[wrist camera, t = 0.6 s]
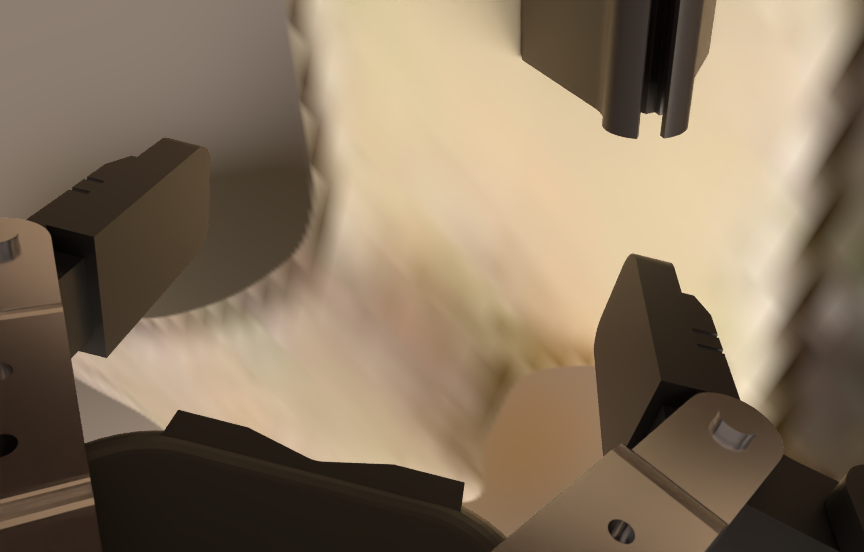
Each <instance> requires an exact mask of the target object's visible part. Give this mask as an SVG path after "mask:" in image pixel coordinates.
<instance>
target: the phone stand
mask: <svg viewBox="0 0 864 552" xmlns="http://www.w3.org/2000/svg"><path fill="white" fill-rule="evenodd" d="M715 6H716V0H522V60H523V61H525V62H526V63H528V64H529V65H531V66H532V67H534V68H535V69H537V70H538V71H540V72H541V73H543V74H544V75H546V76H547V77H549V78H550V79H552V80H553V81H555V82H556V83H558V84H559V85H561V86H562V87H564V88H565V89H567V90H568V91H570V92H571V93H573V94H574V95H576V96H577V97H579V98H580V99H582V100H583V101H585V102H586V103H588V104H589V105H591V106H592V107H594V108H595V109H597V110H598V111H599V112H600V113H601V114H602V116H603V121H602V126H603V128H604V129H605V130H606V131H608V132H610V133H612V134H615V135H618V136H621V137H626V138H633V139H637V138H638V134H639V124H640V113H641V112H642V113H645V114H648V113H653V112H655V113H657V114H658V115H663V116H662V125H661V134H660V136H662V137H663V138H669V137H673V136H677V135H679V134H681V133H683V132H685V131H686V130H687V128H688V121H689V113H690V106H691V99H692V91H693V84H694V78H695V76H696V74H697V73H698V71H699V69H700V67H701V66H702V64H703V62H704V60H705V59H706V57H707V55H708V53H709V48H710V41H711V34H712V27H713V20H714V13H715Z"/></svg>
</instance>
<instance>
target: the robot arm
mask: <svg viewBox="0 0 864 552" xmlns="http://www.w3.org/2000/svg"><path fill="white" fill-rule="evenodd" d="M209 216H210V156H209V152H208V150H207V149H206V148H205V147H202V146H198V145H194V144H190V143H186V142H182V141H178V140H174V139H169V138H163V139H161V140H160V141H158V142H157V143H156V144H155V145H153V146H152V147H150V148H149V149H148V150H146V151H145V152H144V153H142V154H141V155H140V156H138V157H135V156H130V157H126V158H123V159H120V160H117V161H114V162H111V163H107V164H105V165H103V166H102V167H100V168H99V169H98V170H96V171H95V172H93V173H92V174H90V175H89V176H88V177H87V180H85V179H83V180H82V181H81V182H79V183H78V184H76V185H75V186H73V189H72V190H68V191H66V192H65V193H63V194H62V195H61V196H59V197H58V198H57V199H55V200H54V201H52V202H51V203H49V204H48V205H47V206H45V207H44V208H42V209H41V210H39V211H38V212H36V213H35V214H34V215H32V216H31V217H29V218H28V219H27V220H23V219H16V218H0V552H864V465H858V466H855V467H853V468H851V469H850V470H849V471H848V472H847V474H846V475H845V476H844V477H843V478H842V480H841V481H840V482H838V481H836V480H834V479H832V478H829V477H827V476H825V475H823V474H821V473H819V472H817V471H815V470H813V469H811V468H809V467H807V466H804V465H802V464H800V463H798V462H796V461H794V460H793V459H791V458H789V457H787V456H786V455H784V444H783V441H782V438H781V436H780V434H779V432H778V431H777V429H776V428H775V427H774V425H773V424H772V423H771V422H770V421H769V420H768V419H767V418H766V417H765V416H764V415H762V414H761V413H760V412H759V411H757V410H756V409H755V408H753V407H752V406H750V405H748V404H747V403H745V402H743V401H741V400H740V398H739V395H738V392H737V389H736V386H735V383H734V380H733V377H732V375H731V372H730V369H729V366H728V363H727V360H726V357H725V354H722V351H723V349H722V346H721V343H720V340H719V338H717V331H716V328H715V325H714V323H713V320H712V317H711V315H710V314H709V312H708V311H707V310H706V309H705V308H704V307H703V306H702V304H701V303H700V302H699V301H698V300H697V299H696V298H695V296H693V295H689V294H685V293H682V292H681V289H680V285H679V282H678V279H677V275H676V272H675V269H674V266H673V264H672V263H669V262H665V261H661V260H657V259H653V258H649V257H645V256H641V255H637V254H630V255H629V256H628V258H627V259H626V261H625V263H624V265H623V267H622V269H621V272H620V274H619V277H618V279H617V281H616V284H615V286H614V288H613V291H612V293H611V295H610V298H609V300H608V302H607V305H606V307H605V309H604V312H603V314H602V317H601V319H600V322H599V325H598V328H597V332H596V337H595V343H594V357H595V369H596V379H597V392H598V403H599V415H600V426H601V438H602V449H603V458H601V459H600V460H599V461H598V462H597V463H595V464H594V465H593V466H592V467H591V468H589V469H588V470H587V471H586V472H585V473H583V474H582V475H581V476H580V477H579V478H577V479H576V480H575V481H574V482H573V483H572V484H570V485H569V486H568V487H567V488H566V489H564V490H563V491H562V492H561V493H560V494H558V495H557V496H556V497H555V498H554V499H552V500H551V502H549V503H548V504H547V505H545V506H544V507H543V508H542V509H541V510H539V511H538V512H537V513H536V514H535V515H534V516H532V517H531V518H530V519H529V520H528V521H526V522H525V523H524V524H523V525H522V526H521V527H519V528H518V529H517V530H516V531H515V532H513V533H512V534H511V535H510V536H509V537H506V536H505V535H504V534H503V533H502V532H501V531H499V530H498V529H497V528H496V527H494V526H493V525H492V524H491V523H489V522H488V521H487V520H485V519H483V518H482V517H480V516H479V515H477V514H476V513H474V512H473V511H471V510H469V509H467V508H465V507H463V506H462V498H463V491H464V484H465V483H464V482H460V481H456V480H452V479H449V478H445V477H441V476H437V475H433V474H429V473H425V472H421V471H417V470H413V469H409V468H405V467H401V466H397V465H391V464H366V463H341V462H321V461H315V460H312V459H309V458H307V457H305V456H303V455H301V454H299V453H297V452H295V451H293V450H291V449H289V448H287V447H285V446H283V445H282V444H280V443H278V442H276V441H274V440H272V439H270V438H268V437H266V436H264V435H262V434H260V433H258V432H256V431H254V430H252V429H250V428H248V427H244V426H240V425H236V424H232V423H228V422H224V421H220V420H216V419H212V418H209V417H205V416H201V415H197V414H193V413H189V412H185V411H181V410H178V411H177V412H176V414H175V415H174V417H173V418H172V420H171V421H170V423H169V424H168V426H167V427H166V429H165V430H164V431H138V432H130V433H123V434H117V435H113V436H109V437H105V438H101V439H97V440H94V441H91V442H88V443H84V436H83V430H82V424H81V418H80V411H79V405H78V399H77V393H76V386H75V380H74V374H73V368H72V361H71V358H72V357H73V356H74V355H75V354H76V353H77V352H78V351H81V352H85V353H89V354H93V355H97V356H101V357H105V358H107V357H108V356H109V355H110V354H111V352H112V351H113V350H114V349H115V348H116V347H117V346H118V344H119V343H120V342H121V341H122V340H123V339H124V338H125V336H126V335H127V334H128V333H129V332H130V331H131V330H132V328H133V327H134V326H135V325H136V324H137V323H138V322H139V320H140V319H141V318H142V317H143V316H144V315H145V314H146V312H147V311H148V310H149V309H150V308H151V307H152V305H153V304H154V303H155V302H156V301H157V300H158V299H159V297H160V296H161V295H162V294H163V293H164V292H165V291H166V290H167V288H168V287H169V286H170V285H171V284H172V283H173V282H174V280H175V279H176V278H177V277H178V276H179V275H180V274H181V272H182V271H183V270H184V269H185V268H186V267H187V265H188V264H189V263H190V262H191V261H192V260H193V259H194V258H195V256H196V255H197V254H198V253H199V252H200V250H201V249H202V247H203V245H204V243H205V240H206V237H207V233H208V229H209V221H210V218H209Z"/></svg>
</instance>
